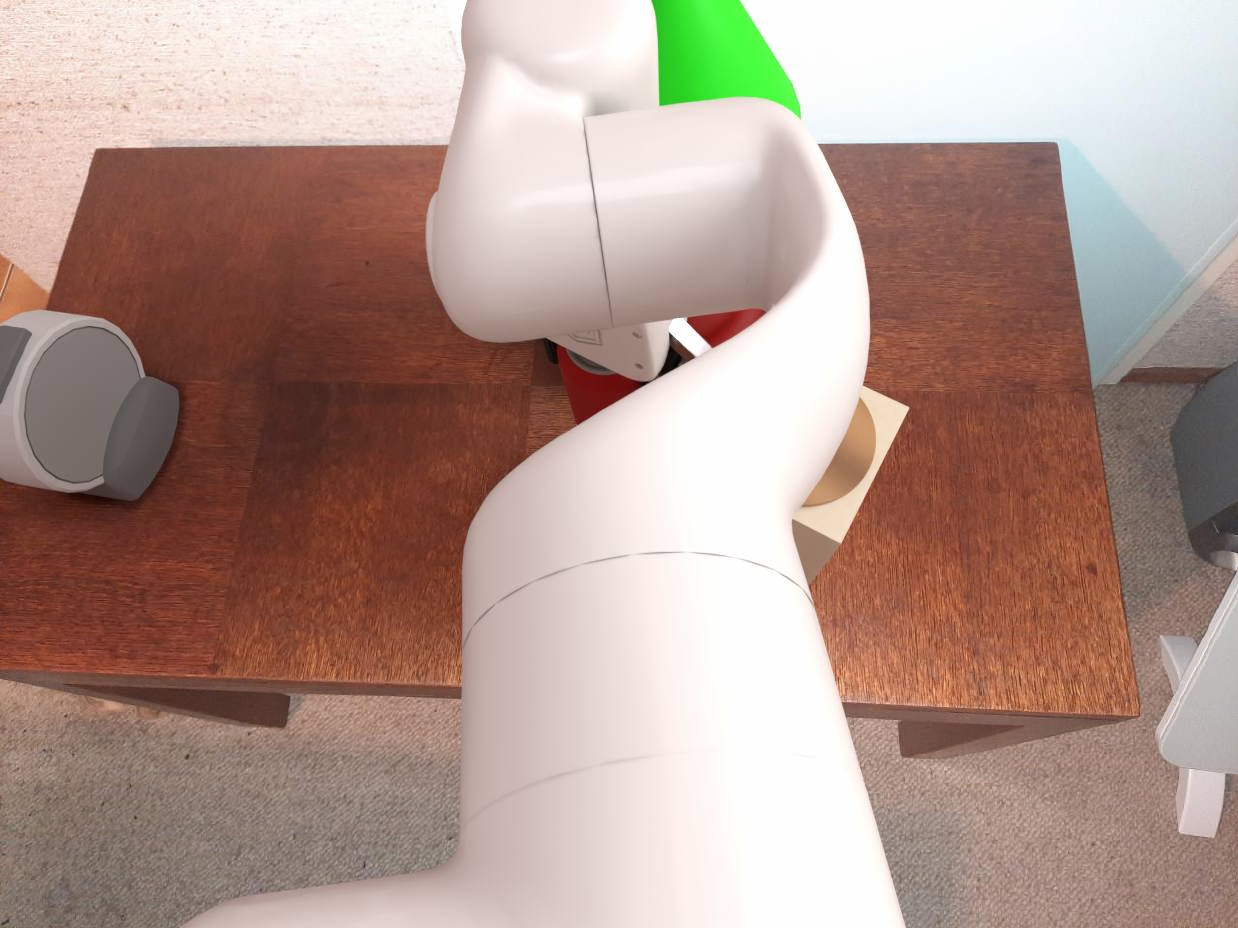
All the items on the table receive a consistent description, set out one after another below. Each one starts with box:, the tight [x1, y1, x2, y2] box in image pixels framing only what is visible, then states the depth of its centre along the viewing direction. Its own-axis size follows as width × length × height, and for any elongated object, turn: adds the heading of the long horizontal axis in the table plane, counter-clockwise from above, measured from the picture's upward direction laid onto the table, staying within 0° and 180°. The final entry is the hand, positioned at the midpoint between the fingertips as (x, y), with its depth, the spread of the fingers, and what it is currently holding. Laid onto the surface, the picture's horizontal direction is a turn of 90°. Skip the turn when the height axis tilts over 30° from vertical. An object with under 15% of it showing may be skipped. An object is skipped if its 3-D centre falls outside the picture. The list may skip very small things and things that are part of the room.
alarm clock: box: [0, 309, 180, 502], centre depth 78 cm, size 16×10×18 cm, turn 170°
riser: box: [792, 385, 910, 587], centre depth 66 cm, size 10×10×28 cm
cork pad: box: [802, 397, 877, 507], centre depth 53 cm, size 9×9×1 cm
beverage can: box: [557, 344, 642, 426], centre depth 60 cm, size 7×7×12 cm
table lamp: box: [651, 0, 802, 348], centre depth 67 cm, size 20×20×45 cm
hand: (610, 368), depth 59 cm, fingers closed on beverage can, 6 cm apart
